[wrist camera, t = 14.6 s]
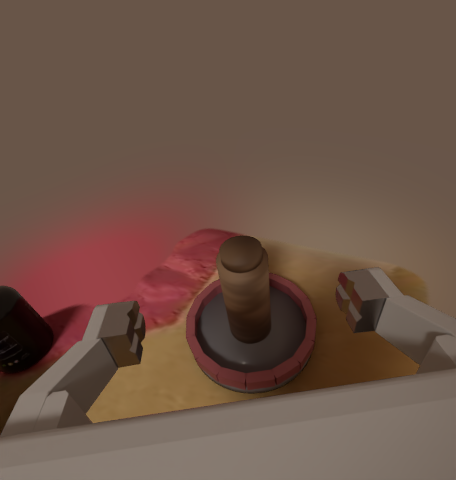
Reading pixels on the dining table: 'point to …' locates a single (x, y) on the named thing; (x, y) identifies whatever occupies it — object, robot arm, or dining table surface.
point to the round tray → (258, 354)
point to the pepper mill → (245, 288)
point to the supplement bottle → (21, 333)
